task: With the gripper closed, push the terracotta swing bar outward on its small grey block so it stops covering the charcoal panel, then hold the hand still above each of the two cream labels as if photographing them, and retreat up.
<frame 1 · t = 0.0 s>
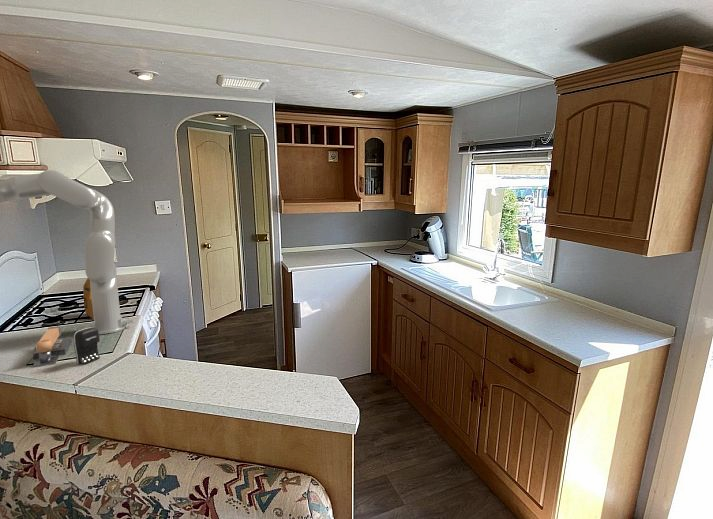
coffee package: (98, 316, 185), on the worktop
label panel: (54, 350, 141), on the worktop
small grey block: (46, 362, 130), on the worktop
swing bar: (49, 338, 136), point 6 cm above the worktop, hinge at 0.0°
battery charger: (90, 362, 130), on the worktop
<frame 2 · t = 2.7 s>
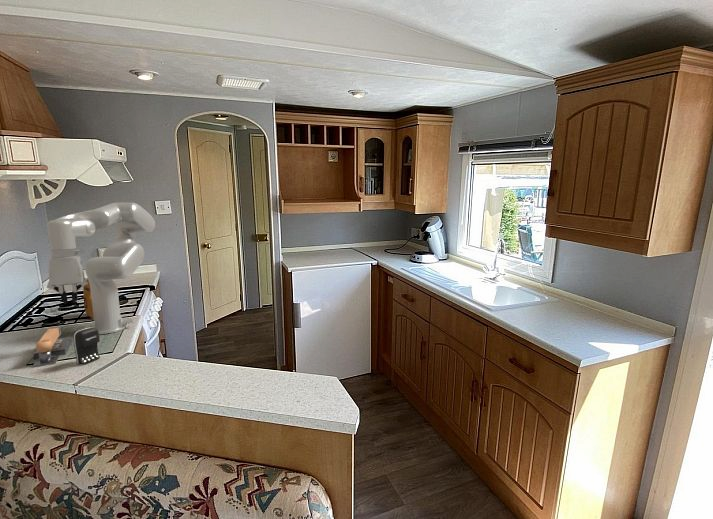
hand: (70, 302, 142), 17 cm above the worktop, tool pointing down, fingers closed
nothing on the worktop moved.
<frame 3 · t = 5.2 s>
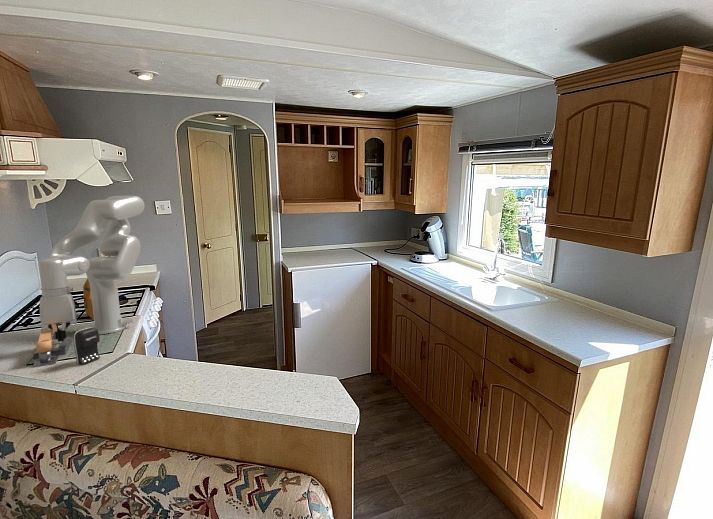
hand: (61, 340, 142), 3 cm above the worktop, tool pointing down, fingers closed
swing bar: (45, 339, 135), point 6 cm above the worktop, hinge at 7.1°, touching gripper
everything else where it was.
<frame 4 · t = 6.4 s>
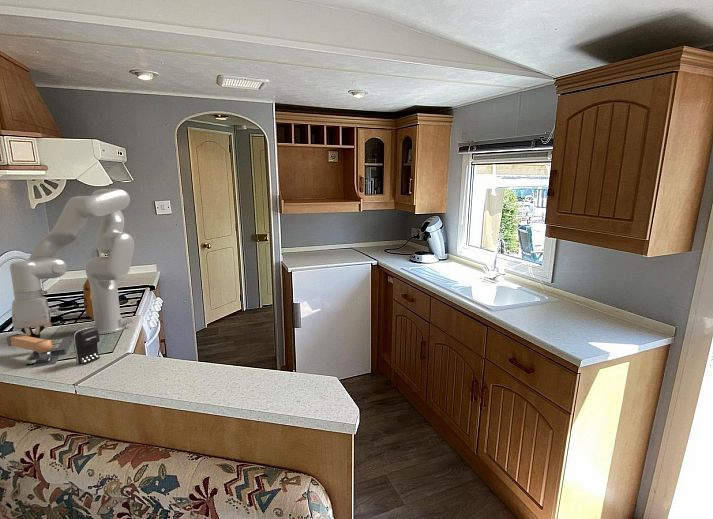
hand: (35, 344, 138), 3 cm above the worktop, tool pointing down, fingers closed
swing bar: (29, 343, 132), point 6 cm above the worktop, hinge at 38.4°, touching gripper
everything else where it was.
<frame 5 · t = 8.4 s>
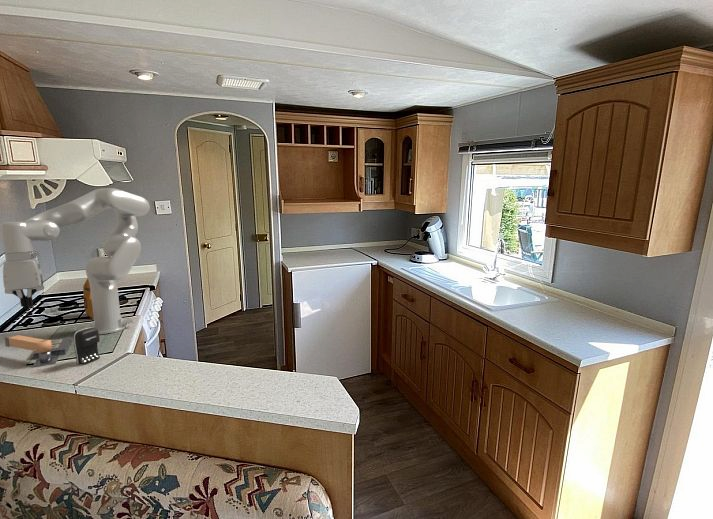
hand: (27, 307, 136), 17 cm above the worktop, tool pointing down, fingers closed
swing bar: (28, 343, 132), point 6 cm above the worktop, hinge at 40.2°
everything else where it was.
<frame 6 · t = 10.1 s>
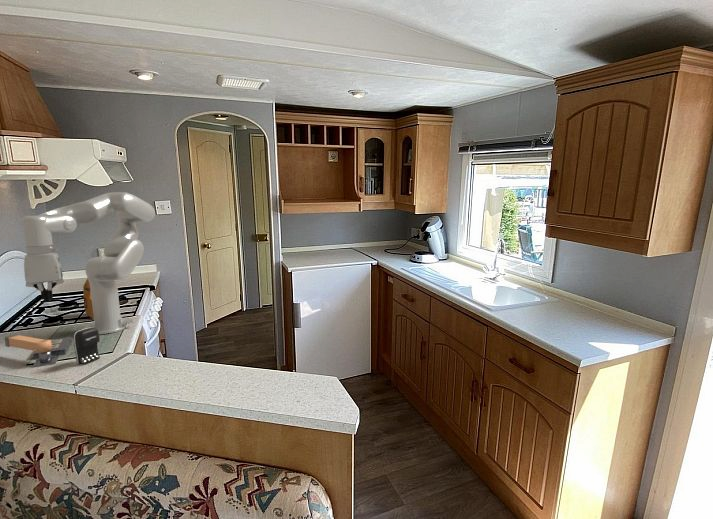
hand: (47, 300, 138), 19 cm above the worktop, tool pointing down, fingers closed
nothing on the worktop moved.
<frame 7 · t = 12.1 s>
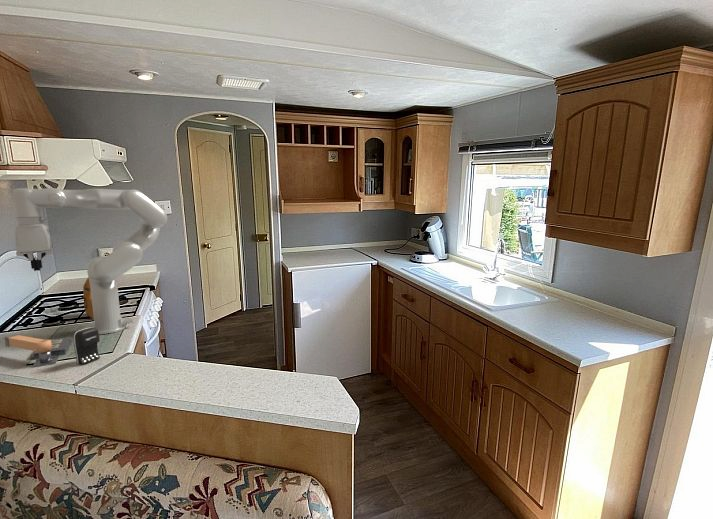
hand: (37, 270, 145), 29 cm above the worktop, tool pointing down, fingers closed
nothing on the worktop moved.
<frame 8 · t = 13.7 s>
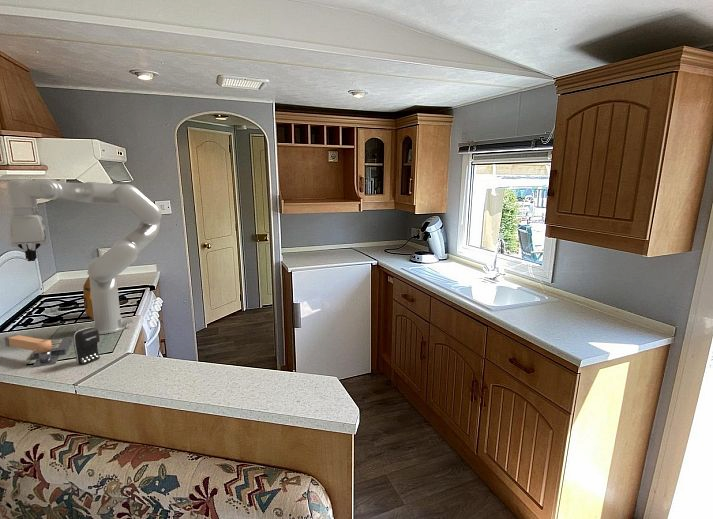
hand: (31, 260, 147), 32 cm above the worktop, tool pointing down, fingers closed
nothing on the worktop moved.
at the end: swing bar at +40° (first picture: +0°); battery charger moved 0.2 cm from its start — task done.
